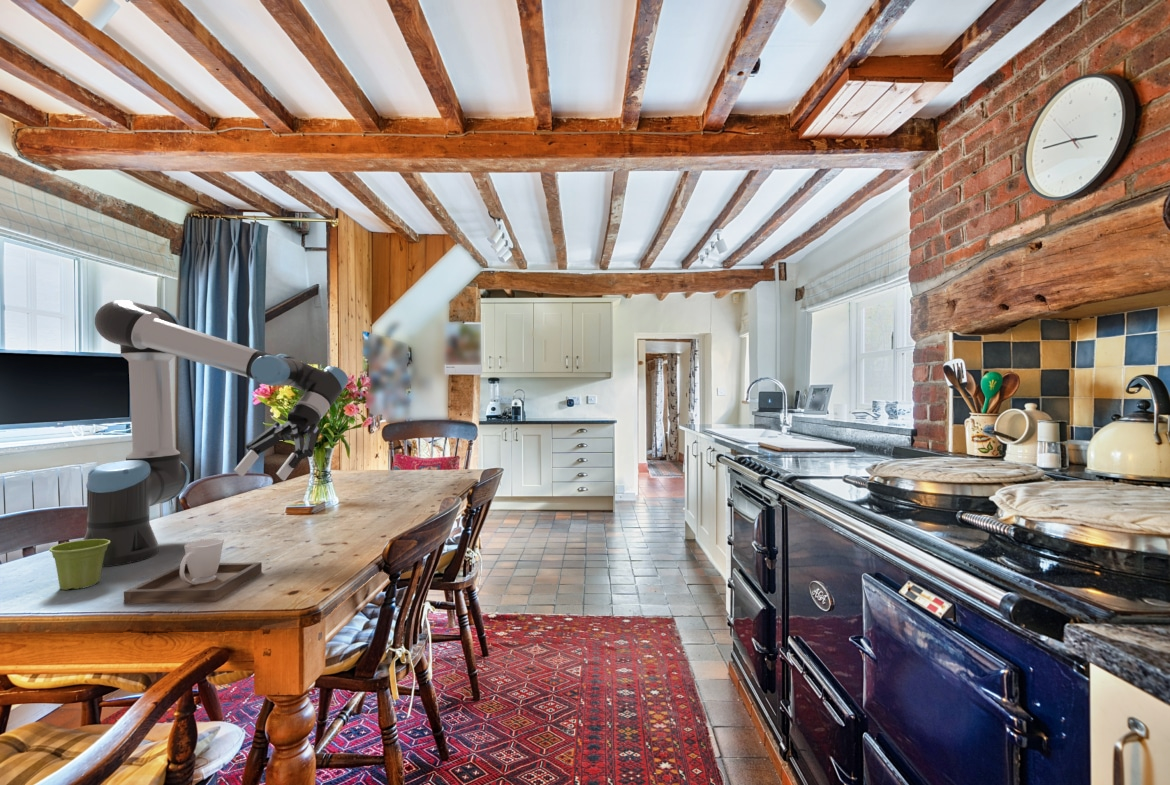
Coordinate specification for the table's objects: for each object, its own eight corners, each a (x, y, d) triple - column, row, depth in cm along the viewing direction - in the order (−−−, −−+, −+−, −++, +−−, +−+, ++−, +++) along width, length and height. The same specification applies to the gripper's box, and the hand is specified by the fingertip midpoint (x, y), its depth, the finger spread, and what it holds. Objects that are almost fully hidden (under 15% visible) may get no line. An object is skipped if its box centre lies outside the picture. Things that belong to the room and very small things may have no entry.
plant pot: (95, 575, 119) (95, 536, 119) (119, 581, 115) (119, 541, 115) (39, 589, 110) (39, 547, 110) (64, 596, 107) (64, 553, 107)
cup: (231, 574, 117) (231, 538, 117) (198, 591, 107) (198, 551, 107) (199, 574, 117) (199, 538, 117) (163, 591, 107) (164, 551, 107)
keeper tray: (123, 603, 103) (123, 591, 103) (183, 573, 120) (183, 563, 120) (215, 601, 104) (215, 589, 104) (261, 572, 121) (261, 562, 121)
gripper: (352, 423, 144) (307, 487, 130) (280, 419, 151) (231, 480, 137) (338, 404, 139) (289, 469, 125) (264, 401, 146) (211, 462, 132)
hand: (258, 475), depth 131 cm, fingers open, 13 cm apart
